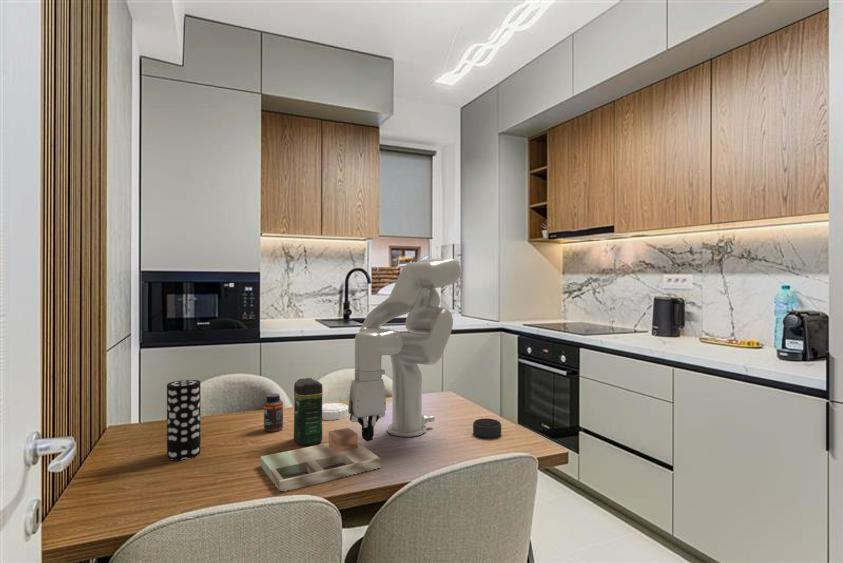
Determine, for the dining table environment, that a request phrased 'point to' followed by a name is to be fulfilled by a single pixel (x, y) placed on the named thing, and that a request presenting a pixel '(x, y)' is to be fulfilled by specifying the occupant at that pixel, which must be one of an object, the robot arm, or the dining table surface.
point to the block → (343, 440)
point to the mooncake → (334, 411)
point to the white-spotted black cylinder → (183, 419)
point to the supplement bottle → (273, 413)
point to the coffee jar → (307, 411)
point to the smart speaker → (487, 428)
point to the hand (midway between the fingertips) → (367, 439)
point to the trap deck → (316, 465)
